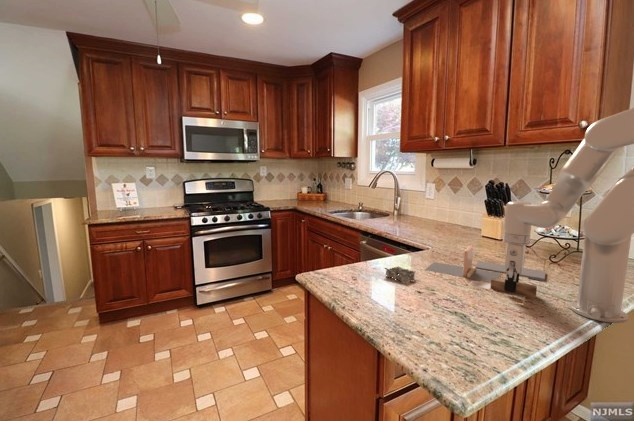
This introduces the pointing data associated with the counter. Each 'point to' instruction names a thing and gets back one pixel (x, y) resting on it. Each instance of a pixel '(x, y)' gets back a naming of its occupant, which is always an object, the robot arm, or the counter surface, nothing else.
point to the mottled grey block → (400, 274)
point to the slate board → (501, 268)
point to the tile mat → (458, 271)
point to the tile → (467, 260)
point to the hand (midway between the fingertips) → (511, 287)
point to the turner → (499, 284)
